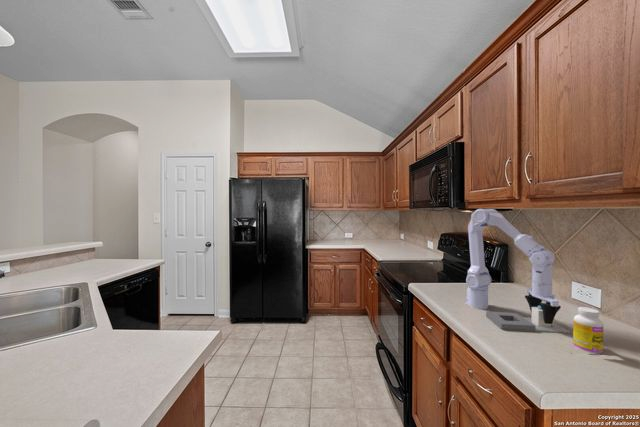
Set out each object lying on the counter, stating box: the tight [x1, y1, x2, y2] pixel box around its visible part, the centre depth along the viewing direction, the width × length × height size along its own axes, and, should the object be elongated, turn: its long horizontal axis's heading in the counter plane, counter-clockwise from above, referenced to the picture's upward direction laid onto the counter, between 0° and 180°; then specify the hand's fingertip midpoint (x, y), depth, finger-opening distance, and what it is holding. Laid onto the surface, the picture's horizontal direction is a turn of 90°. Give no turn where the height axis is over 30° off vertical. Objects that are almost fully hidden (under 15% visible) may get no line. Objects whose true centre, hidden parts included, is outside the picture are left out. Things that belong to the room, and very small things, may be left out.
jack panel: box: [485, 310, 571, 334], centre depth 102 cm, size 12×22×3 cm, turn 82°
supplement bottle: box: [572, 306, 604, 356], centre depth 85 cm, size 7×7×13 cm
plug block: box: [531, 306, 551, 327], centre depth 102 cm, size 4×4×8 cm
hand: (541, 319), depth 102 cm, fingers open, 7 cm apart
